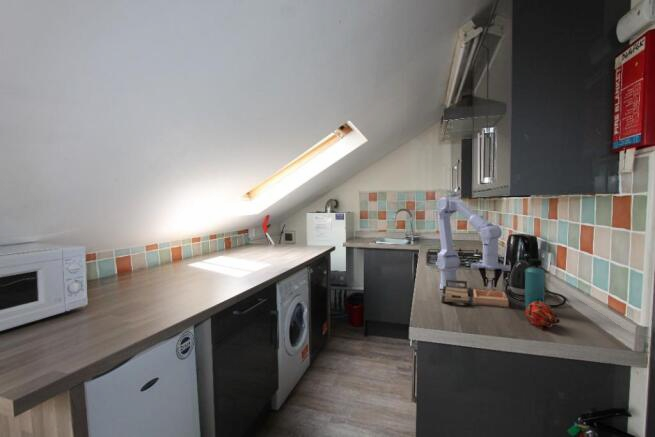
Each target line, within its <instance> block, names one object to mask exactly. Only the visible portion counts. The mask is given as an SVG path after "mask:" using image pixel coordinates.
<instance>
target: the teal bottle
mask: <svg viewBox="0 0 655 437" xmlns="http://www.w3.org/2000/svg"><path fill="white" fill-rule="evenodd" d="M528 264H529V265H533V266H534V267H529V268H527V269H526V270H525V296H524V306H525V308H527V307H528V306H529V304H531V303H533V302H538V301H539V302H543V303H544V304H545V302H546V298H545V297H546V296H545V294H546V293H545V286H546V279H545V277H546V276H545V274H546V272H545V270H544V269H542V268H541V267H542V260H541V259H539V258H529V259H528ZM540 266H541V267H540Z"/></svg>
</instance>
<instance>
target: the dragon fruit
mask: <svg viewBox="0 0 655 437" xmlns="http://www.w3.org/2000/svg"><path fill="white" fill-rule="evenodd" d="M524 313H525V314H526V320H527V322H528V323H532V324H533V325H534V326H535V327H536V328H538V329H544V326H545V327H548V328H551V327H553V326H554V324H559V323H560V320H561V319H559V318H558V317H557V316H556V313H555V311H554V310H552V306H551V305H549V304H546V303H545V302H544V303H543V302H539V301H538V302H533V303H531V304H529V306H528V307H525V312H524Z"/></svg>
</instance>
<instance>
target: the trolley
mask: <svg viewBox="0 0 655 437" xmlns="http://www.w3.org/2000/svg"><path fill="white" fill-rule="evenodd" d="M448 282H450V283H456V284H464V286H457V287H454V286H448ZM467 285H468V281H467V280H459V279H458V280H446V286H443V289H442V293H444V294H441V303H446V302H451V303H461V304H468V305H469V306H472V304H473V301H472V300H473V299H472V297H470V296H471V288H469V287H467Z"/></svg>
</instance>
